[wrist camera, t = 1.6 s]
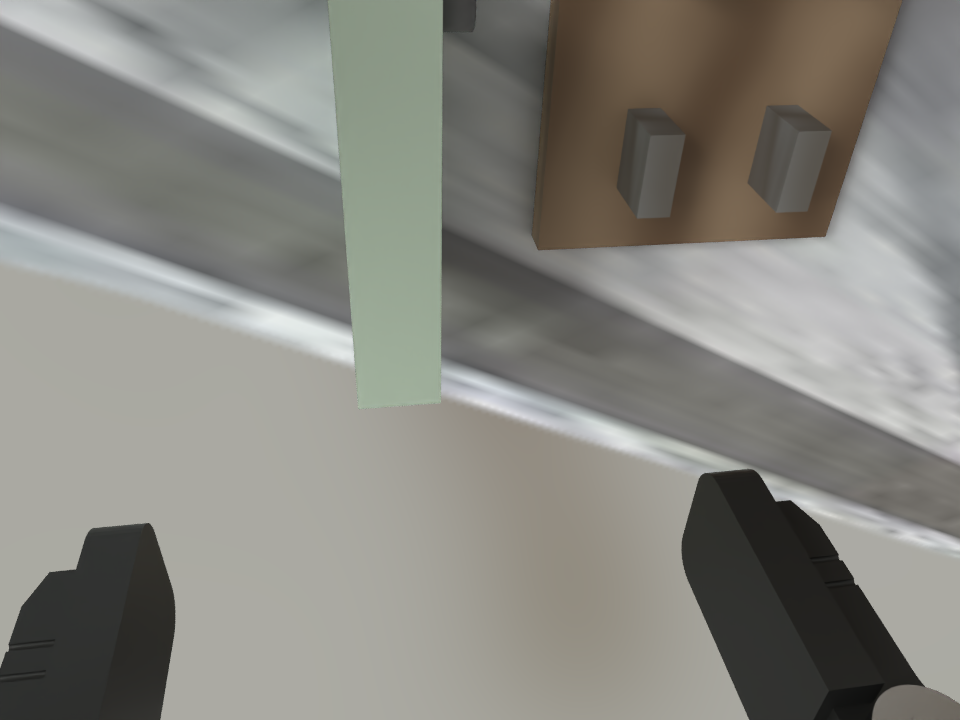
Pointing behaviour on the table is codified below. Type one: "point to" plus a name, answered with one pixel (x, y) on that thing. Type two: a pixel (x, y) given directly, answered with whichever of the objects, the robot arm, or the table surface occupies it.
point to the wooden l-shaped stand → (701, 117)
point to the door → (393, 187)
